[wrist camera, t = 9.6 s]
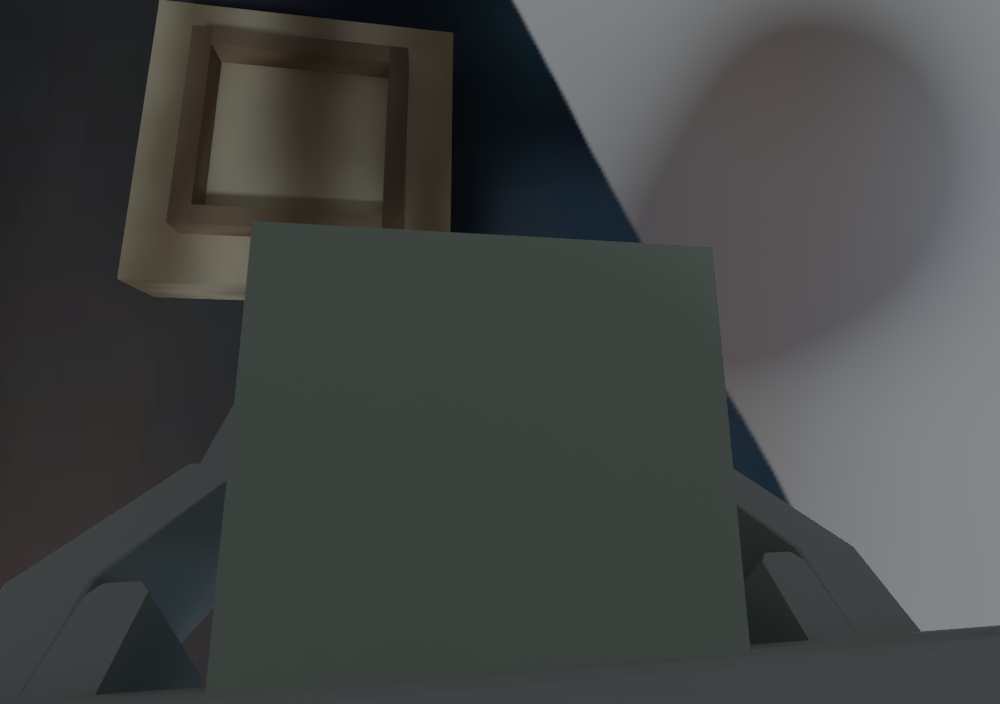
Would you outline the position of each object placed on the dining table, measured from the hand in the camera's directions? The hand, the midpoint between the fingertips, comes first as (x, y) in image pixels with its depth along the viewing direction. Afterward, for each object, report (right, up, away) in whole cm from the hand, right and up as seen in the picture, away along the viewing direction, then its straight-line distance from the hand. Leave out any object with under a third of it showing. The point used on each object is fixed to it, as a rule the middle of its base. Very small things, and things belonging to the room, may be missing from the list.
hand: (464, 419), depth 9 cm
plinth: (-10, +12, +19) cm, 25 cm away
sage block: (-1, -2, +5) cm, 5 cm away
